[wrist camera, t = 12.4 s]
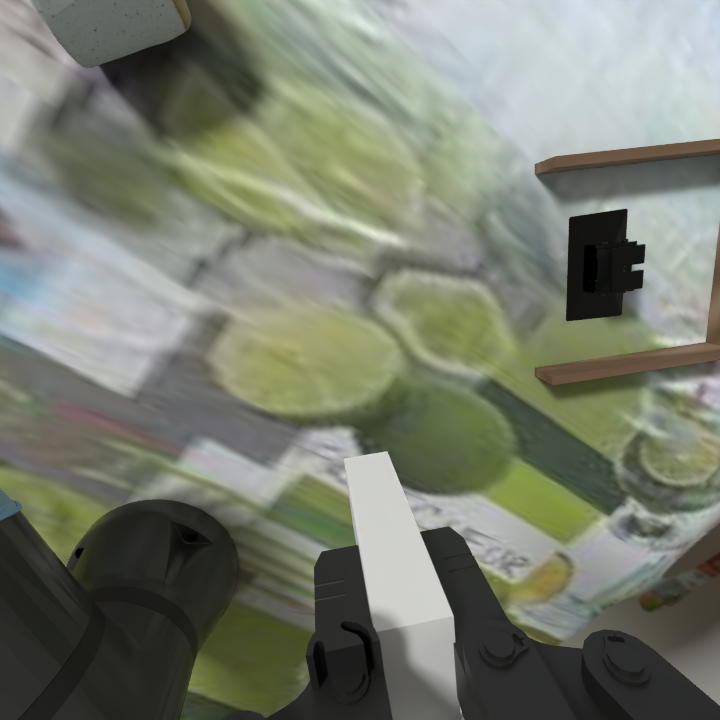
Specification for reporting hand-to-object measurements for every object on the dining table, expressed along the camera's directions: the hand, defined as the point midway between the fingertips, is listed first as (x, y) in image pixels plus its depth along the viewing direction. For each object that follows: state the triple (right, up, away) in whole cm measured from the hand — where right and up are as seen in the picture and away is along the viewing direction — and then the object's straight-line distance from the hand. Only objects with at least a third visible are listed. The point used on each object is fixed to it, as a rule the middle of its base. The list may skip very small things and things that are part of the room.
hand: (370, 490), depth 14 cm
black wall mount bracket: (+21, +13, +24) cm, 35 cm away
